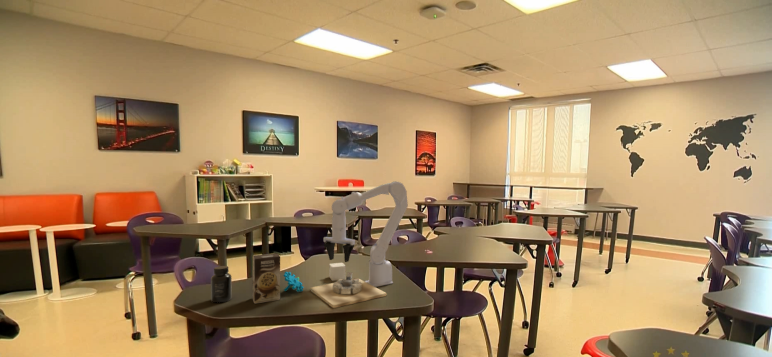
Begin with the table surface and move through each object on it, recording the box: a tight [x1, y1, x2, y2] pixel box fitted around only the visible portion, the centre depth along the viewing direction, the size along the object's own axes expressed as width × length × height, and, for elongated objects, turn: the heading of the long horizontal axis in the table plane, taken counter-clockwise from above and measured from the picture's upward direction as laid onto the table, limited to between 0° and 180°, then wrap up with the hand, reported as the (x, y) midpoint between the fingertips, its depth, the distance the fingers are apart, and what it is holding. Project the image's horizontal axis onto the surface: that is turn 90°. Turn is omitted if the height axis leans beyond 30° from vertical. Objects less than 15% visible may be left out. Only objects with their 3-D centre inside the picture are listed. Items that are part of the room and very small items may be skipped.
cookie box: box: [252, 252, 281, 304], centre depth 126 cm, size 9×6×16 cm
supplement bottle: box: [210, 265, 233, 304], centre depth 125 cm, size 7×7×12 cm
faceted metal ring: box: [333, 271, 362, 294], centre depth 136 cm, size 16×11×4 cm
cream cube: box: [328, 262, 347, 282], centre depth 152 cm, size 6×6×6 cm
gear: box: [282, 271, 305, 293], centre depth 136 cm, size 11×6×10 cm
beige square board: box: [309, 277, 388, 309], centre depth 133 cm, size 22×22×4 cm
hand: (339, 260), depth 144 cm, fingers open, 7 cm apart
